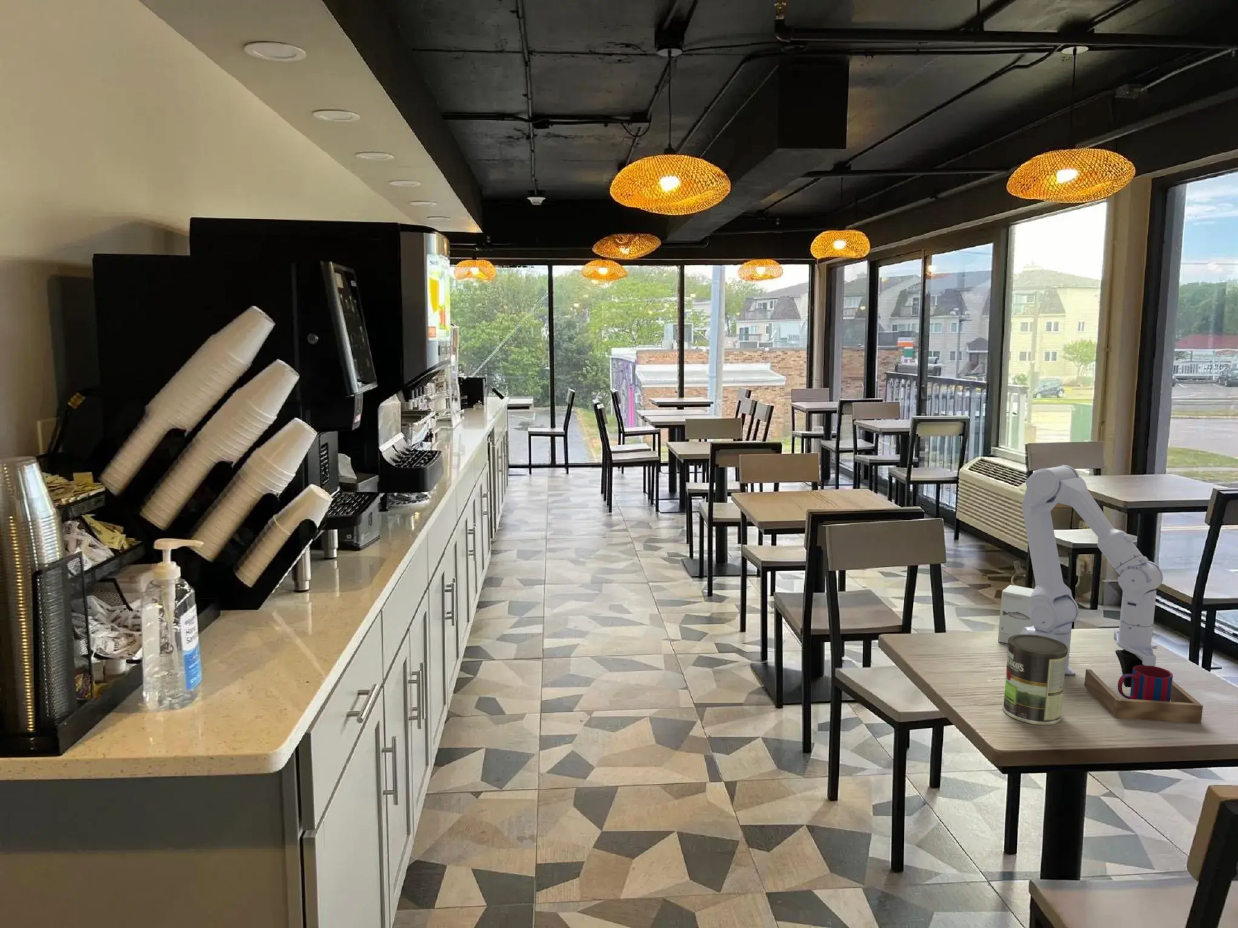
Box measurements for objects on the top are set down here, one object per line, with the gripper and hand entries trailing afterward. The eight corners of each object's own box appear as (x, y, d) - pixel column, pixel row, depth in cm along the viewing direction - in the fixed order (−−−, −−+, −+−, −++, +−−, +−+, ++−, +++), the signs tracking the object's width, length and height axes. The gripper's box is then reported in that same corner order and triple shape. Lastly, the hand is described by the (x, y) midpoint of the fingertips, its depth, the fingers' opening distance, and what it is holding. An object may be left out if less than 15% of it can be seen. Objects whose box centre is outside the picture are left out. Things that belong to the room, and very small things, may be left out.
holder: (1114, 717, 164) (1116, 700, 163) (1084, 685, 179) (1085, 669, 178) (1201, 723, 161) (1203, 705, 161) (1162, 689, 176) (1164, 673, 176)
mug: (1176, 711, 166) (1180, 678, 165) (1123, 710, 167) (1127, 677, 166) (1156, 696, 173) (1160, 664, 172) (1105, 696, 173) (1109, 663, 172)
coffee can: (1016, 725, 160) (1021, 652, 158) (994, 701, 171) (999, 633, 169) (1072, 726, 160) (1078, 653, 158) (1046, 702, 170) (1052, 634, 168)
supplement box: (996, 642, 204) (1000, 590, 202) (1006, 633, 209) (1010, 583, 207) (1030, 649, 199) (1034, 596, 197) (1038, 640, 205) (1043, 589, 203)
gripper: (1175, 635, 165) (1168, 702, 167) (1141, 611, 179) (1135, 673, 181) (1135, 633, 166) (1129, 700, 168) (1105, 609, 180) (1099, 671, 182)
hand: (1130, 686), depth 174 cm, fingers closed
